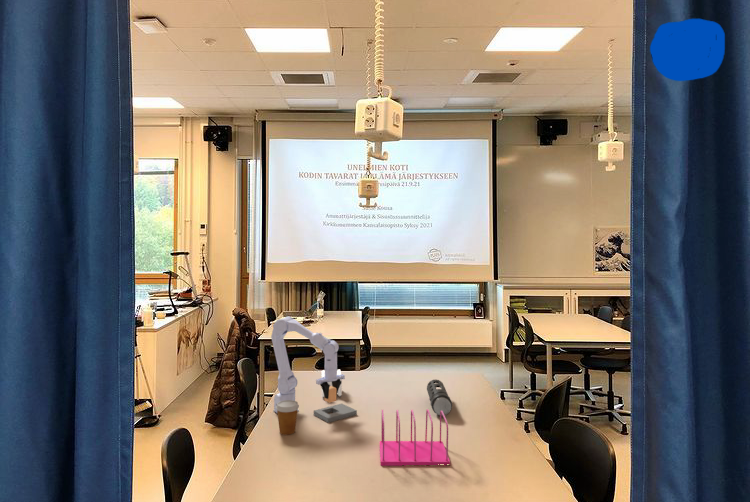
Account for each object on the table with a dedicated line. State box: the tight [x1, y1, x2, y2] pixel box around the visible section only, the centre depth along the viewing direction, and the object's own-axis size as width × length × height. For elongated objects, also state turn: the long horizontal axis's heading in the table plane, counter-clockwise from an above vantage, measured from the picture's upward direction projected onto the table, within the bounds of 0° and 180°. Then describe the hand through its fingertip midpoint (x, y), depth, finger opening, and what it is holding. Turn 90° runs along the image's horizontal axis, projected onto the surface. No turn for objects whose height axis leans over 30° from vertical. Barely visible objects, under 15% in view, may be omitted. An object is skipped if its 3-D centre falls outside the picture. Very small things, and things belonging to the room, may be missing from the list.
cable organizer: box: [320, 368, 343, 398], centre depth 246 cm, size 15×11×12 cm
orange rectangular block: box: [323, 386, 337, 404], centre depth 216 cm, size 4×4×6 cm
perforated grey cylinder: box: [426, 379, 453, 417], centre depth 227 cm, size 10×28×10 cm, turn 179°
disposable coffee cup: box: [276, 400, 299, 436], centre depth 197 cm, size 10×10×12 cm
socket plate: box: [313, 403, 358, 424], centre depth 217 cm, size 16×12×2 cm
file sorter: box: [379, 408, 451, 467], centre depth 176 cm, size 17×25×16 cm
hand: (330, 397), depth 216 cm, fingers closed on orange rectangular block, 4 cm apart
